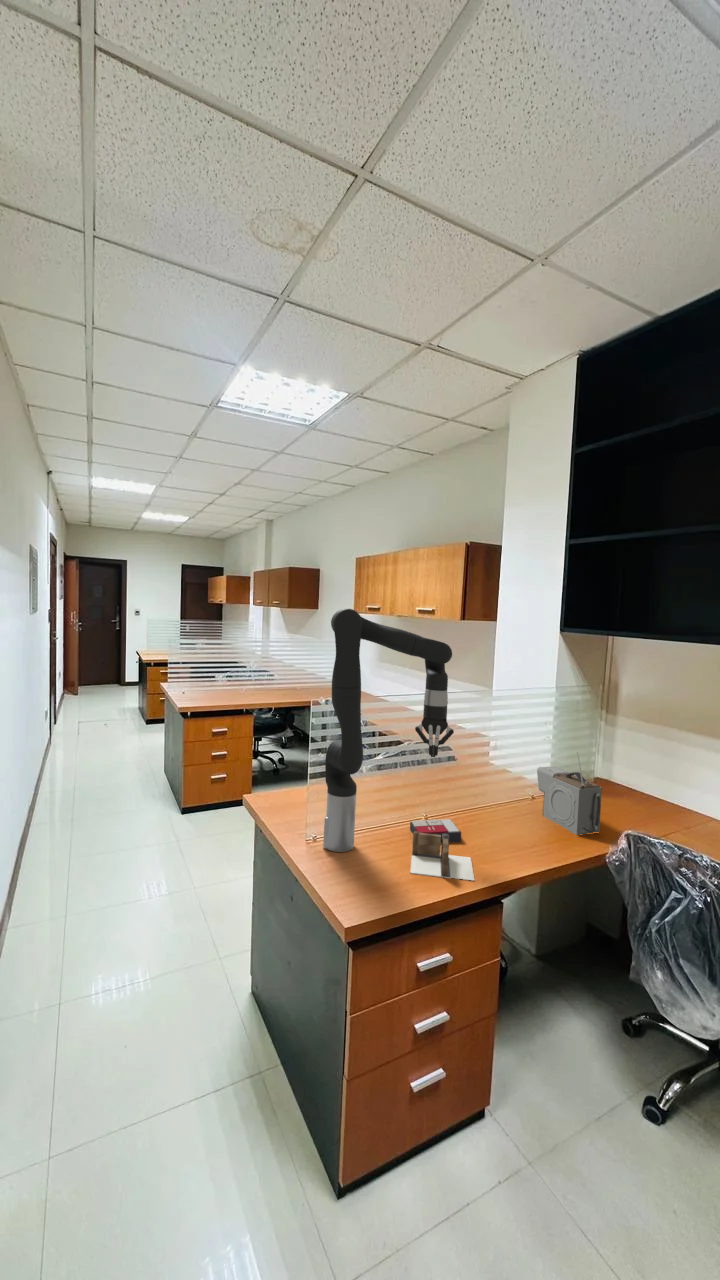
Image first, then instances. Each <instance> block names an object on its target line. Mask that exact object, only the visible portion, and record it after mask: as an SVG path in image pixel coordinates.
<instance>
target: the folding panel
mask: <svg viewBox="0 0 720 1280" xmlns="http://www.w3.org/2000/svg"><path fill="white" fill-rule="evenodd" d="M449 855H450V853H449V852H448V839H446V838H443V851H442V866H441V874H442V875H444V876H446V875H448V856H449Z"/></svg>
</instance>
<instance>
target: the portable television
mask: <svg viewBox="0 0 720 1280" xmlns="http://www.w3.org/2000/svg"><path fill="white" fill-rule="evenodd" d="M576 753H577V754H576V755H577V760H578V765H579V768H578V769H579V772H578V771H577V772H576V771H575V772H571V771H568V770H565V769H564V768H561V767H558V766H539V767H538V768H537V769H536V773H537V786H538V787H537V788H538V790H539V791H540V792H541V793H543V808H542V816H543V815H544V817H546V818H548V819H549V820H551V821H553V822H555V823H557V824H559V825H560V826H562V827H564V828H566V829H567V830H569V831H571V832H572V833H574V834H576V835H580V834H587V833H593V832H599V833H600V831H601V830H600V828H601V814H602V811H601V810H602V795H603V793H602V791H603V788H602V787H601V786H600V785H599V784H596V783H594V782H592V781H588V780H586V779H585V777H584V776H583V772H582V767H581V763H580V757H579V751H576ZM544 817H543V818H544ZM546 818H545V819H546ZM549 820H548V821H549ZM551 821H550V822H551ZM553 822H552V823H553ZM555 823H554V824H555ZM560 826H559V827H560ZM562 827H561V828H562ZM567 830H566V831H567ZM569 831H568V832H569ZM571 832H570V833H571ZM572 833H571V834H572ZM574 834H573V835H574ZM576 835H575V836H576Z"/></svg>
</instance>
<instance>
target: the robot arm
mask: <svg viewBox="0 0 720 1280" xmlns="http://www.w3.org/2000/svg"><path fill="white" fill-rule="evenodd" d="M330 624H331V625H330V626H331V629H332V631H333V632H334V639H335V640H334V642H335V657H334V658H335V660H334V665H333V669H332V678H331V704H332V707H333V710H334V712H335V713H334V714H335V715H336V718H337V721H338V724H339V727H340V732H341V739H336V740H333V741H332V742H331V743H330V744H329V745H328V747H327V749H326V753H325V762H324V763H325V764H324V765H325V767H324V768H325V769H324V770H325V772H324V773H325V774H324V776H325V779H324V780H325V784H326V786H327V792H326V793H327V796H326V815H325V817H324V822H323V823H324V824H323V825H324V826H323V845H322V846H323V847H322V848H323V849H325V850H329V851H331V852H334V853H335V852H336V853H346V852H349V851H351V850H353V849H354V846H355V829H356V809H357V808H356V806H357V792H358V791H357V790H358V789H357V788H358V787H357V786H358V785H357V783H356V781H355V780H354V779H353V778H352V775H355V774H357V772H359V771H360V769H361V767H362V765H363V761H364V747H363V745H364V744H363V737H362V721H361V720H362V716H361V714H362V713H361V712H362V711H361V710H362V707H361V704H362V703H361V702H362V673H361V660H360V659H361V658H360V654H361V653H360V651H361V640H364V641H367V642H372V643H375V644H376V645H380V646H382V647H385V648H387V649H390V650H393V651H396V652H398V653H402V654H404V655H409V656H411V657H417V658H421V659H423V660H424V666H425V673H426V678H425V691H424V698H423V719H422V720H421V722H420V724H419V725H416V726H415V728H414V730H415V732H416V733H417V735H418V736H419V737H420V739H421V741H422V742H423V743H424V744H427V745H428V755H429V756H430V758H436V757H437V756H438V753H439V746H440V745H444V744H445V743H446V742H447V741H448V740H449V739H450V737H452V735H453V734H454V731H455V730H454V729H453V728H451V727H450V726H449V722H448V721H447V720H448V704H449V702H448V701H449V697H448V686H449V685H448V684H449V679H448V678H449V676H448V673H447V672H446V666H445V665H446V664H448V663H449V662H450V660H452V657H453V651H452V647H451V646H450V645H449V644H447V643H446V642H443V641H440V640H435V639H431V638H427V637H424V636H421V635H419V634H416V633H413V632H411V631H407V630H404V629H400V628H397V627H396V628H395V627H392V626H387V625H385V624H381V623H377V622H374V621H373V620H369V619H367V618H364V617H363V616H361V615H360V613H359V612H358V611H356V610H355V609H352V608H343V609H340V610H338V611H336V612H335V613H334V614H333V615H332V617H331V620H330ZM423 731H425V732H426V734H427V735H428V737H427V736H426V735H425V734H424V732H423ZM444 732H445V734H444V735H443V737H442V738H441V739H440V735H442V734H443V733H444ZM433 736H434V738H433Z"/></svg>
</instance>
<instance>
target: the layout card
mask: <svg viewBox="0 0 720 1280" xmlns="http://www.w3.org/2000/svg"><path fill="white" fill-rule="evenodd" d="M410 859H411V861H410V872H409V873H410V874H412V875H420V876H426V877H427V876H428V877H436V878H437V877H438V878H443V877H444V879H451V878H455V879H454V880H459V879H463V880H462V881H468V880H471V881H470V882H476V881H475V875H474V869H473V863H472V858H471V857H469V856H461V855H453V854H449V856H448V875H446V876H444V875H442V874H441V866H442V858H441V853H440V856H435V855H426V854H418V855H413V854H412V853H411V858H410Z"/></svg>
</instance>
